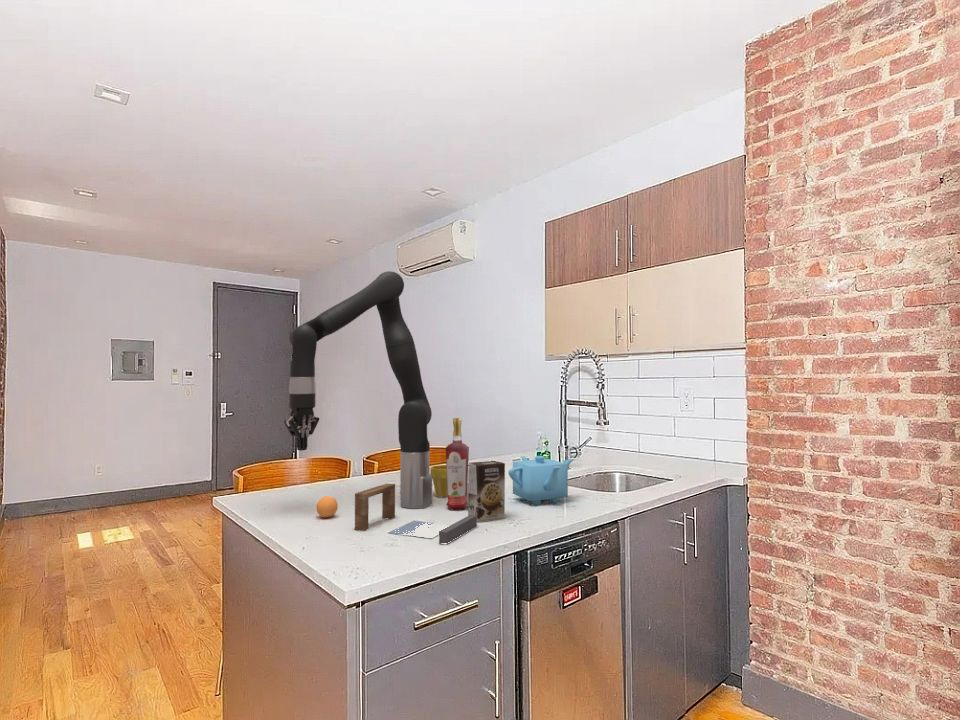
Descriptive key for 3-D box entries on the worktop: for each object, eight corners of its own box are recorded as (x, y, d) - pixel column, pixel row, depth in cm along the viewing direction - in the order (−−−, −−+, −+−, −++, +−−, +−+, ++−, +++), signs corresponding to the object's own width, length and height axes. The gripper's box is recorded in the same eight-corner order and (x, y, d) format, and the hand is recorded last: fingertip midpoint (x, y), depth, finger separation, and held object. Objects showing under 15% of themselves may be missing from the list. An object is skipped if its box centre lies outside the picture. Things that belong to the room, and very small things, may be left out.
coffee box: (477, 522, 157) (477, 465, 157) (467, 517, 162) (467, 462, 163) (505, 519, 161) (505, 462, 161) (494, 514, 166) (494, 459, 167)
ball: (341, 515, 164) (341, 495, 164) (328, 520, 159) (328, 499, 159) (325, 513, 167) (325, 493, 167) (311, 518, 161) (312, 497, 161)
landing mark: (454, 526, 153) (454, 525, 153) (431, 539, 141) (431, 538, 141) (413, 521, 158) (413, 520, 158) (388, 533, 146) (388, 532, 146)
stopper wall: (476, 526, 153) (476, 515, 153) (446, 544, 136) (446, 532, 137) (470, 525, 154) (470, 514, 154) (439, 543, 137) (439, 531, 137)
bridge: (394, 517, 162) (395, 484, 162) (363, 531, 148) (364, 494, 148) (386, 516, 163) (386, 483, 163) (354, 529, 150) (354, 493, 150)
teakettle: (505, 505, 178) (504, 458, 178) (521, 492, 196) (521, 450, 196) (563, 510, 171) (563, 462, 172) (575, 497, 189) (574, 453, 189)
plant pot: (439, 491, 199) (439, 463, 199) (465, 493, 194) (465, 465, 195) (424, 496, 189) (424, 468, 189) (451, 499, 185) (451, 470, 185)
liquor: (471, 506, 176) (471, 417, 177) (465, 511, 169) (465, 419, 169) (449, 505, 178) (449, 417, 178) (442, 510, 170) (442, 418, 171)
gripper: (296, 393, 160) (296, 453, 159) (327, 391, 172) (326, 448, 172) (276, 392, 163) (276, 452, 162) (307, 391, 175) (307, 446, 175)
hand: (302, 449), depth 167 cm, fingers closed
